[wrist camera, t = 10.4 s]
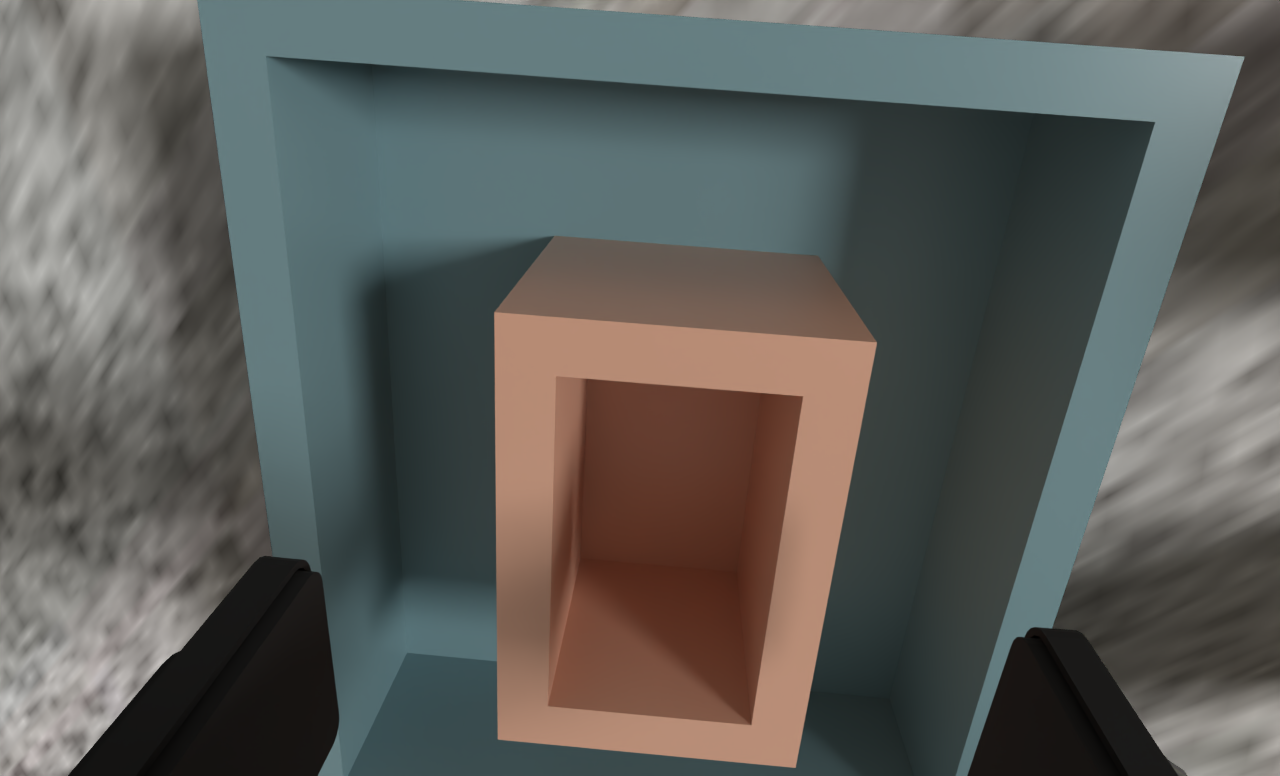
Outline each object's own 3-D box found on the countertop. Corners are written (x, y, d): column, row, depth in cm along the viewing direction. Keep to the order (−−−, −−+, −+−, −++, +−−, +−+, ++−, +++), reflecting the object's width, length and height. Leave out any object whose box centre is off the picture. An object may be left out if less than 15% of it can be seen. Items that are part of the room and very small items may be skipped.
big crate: (387, 652, 24) (306, 809, 19) (340, 6, 17) (194, -19, 12) (908, 702, 24) (968, 876, 19) (1076, 59, 17) (1245, 56, 12)
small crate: (554, 235, 18) (494, 312, 12) (818, 255, 18) (876, 342, 12) (547, 564, 21) (497, 739, 16) (767, 583, 21) (795, 768, 16)
